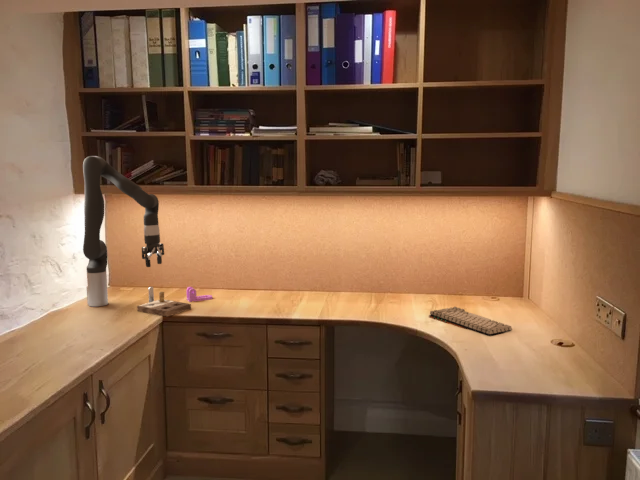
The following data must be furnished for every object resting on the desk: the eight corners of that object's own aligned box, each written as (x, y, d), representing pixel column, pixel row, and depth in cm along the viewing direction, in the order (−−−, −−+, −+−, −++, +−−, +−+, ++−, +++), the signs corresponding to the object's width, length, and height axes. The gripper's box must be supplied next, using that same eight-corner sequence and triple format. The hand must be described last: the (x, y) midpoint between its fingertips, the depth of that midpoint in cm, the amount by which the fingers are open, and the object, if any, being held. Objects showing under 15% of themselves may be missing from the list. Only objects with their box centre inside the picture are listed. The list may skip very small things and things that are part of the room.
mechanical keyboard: (517, 331, 233) (518, 323, 232) (488, 339, 223) (488, 331, 222) (453, 311, 264) (453, 305, 264) (424, 317, 254) (424, 310, 254)
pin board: (137, 311, 262) (136, 295, 261) (161, 303, 276) (161, 289, 275) (167, 316, 253) (166, 300, 251) (190, 308, 266) (190, 293, 265)
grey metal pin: (148, 304, 275) (147, 287, 274) (151, 303, 277) (150, 286, 276) (151, 304, 274) (150, 287, 272) (155, 303, 276) (154, 286, 275)
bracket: (189, 302, 280) (189, 289, 279) (186, 299, 285) (186, 287, 284) (213, 299, 286) (213, 286, 285) (210, 297, 291) (210, 284, 290)
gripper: (155, 232, 278) (157, 262, 280) (136, 235, 265) (138, 267, 267) (167, 232, 275) (169, 263, 277) (148, 235, 262) (150, 268, 264)
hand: (154, 265), depth 272 cm, fingers open, 8 cm apart
